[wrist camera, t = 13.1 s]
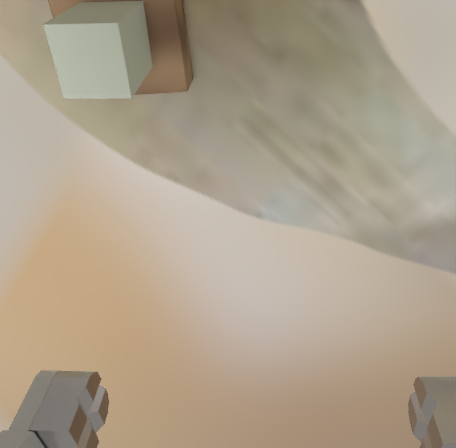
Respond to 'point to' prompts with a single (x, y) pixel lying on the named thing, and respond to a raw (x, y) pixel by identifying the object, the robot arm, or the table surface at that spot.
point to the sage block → (100, 49)
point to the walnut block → (157, 44)
